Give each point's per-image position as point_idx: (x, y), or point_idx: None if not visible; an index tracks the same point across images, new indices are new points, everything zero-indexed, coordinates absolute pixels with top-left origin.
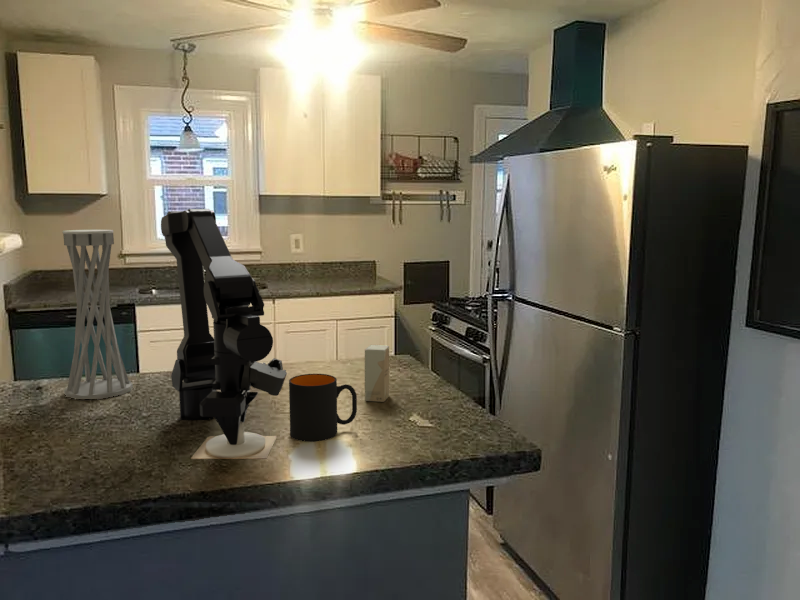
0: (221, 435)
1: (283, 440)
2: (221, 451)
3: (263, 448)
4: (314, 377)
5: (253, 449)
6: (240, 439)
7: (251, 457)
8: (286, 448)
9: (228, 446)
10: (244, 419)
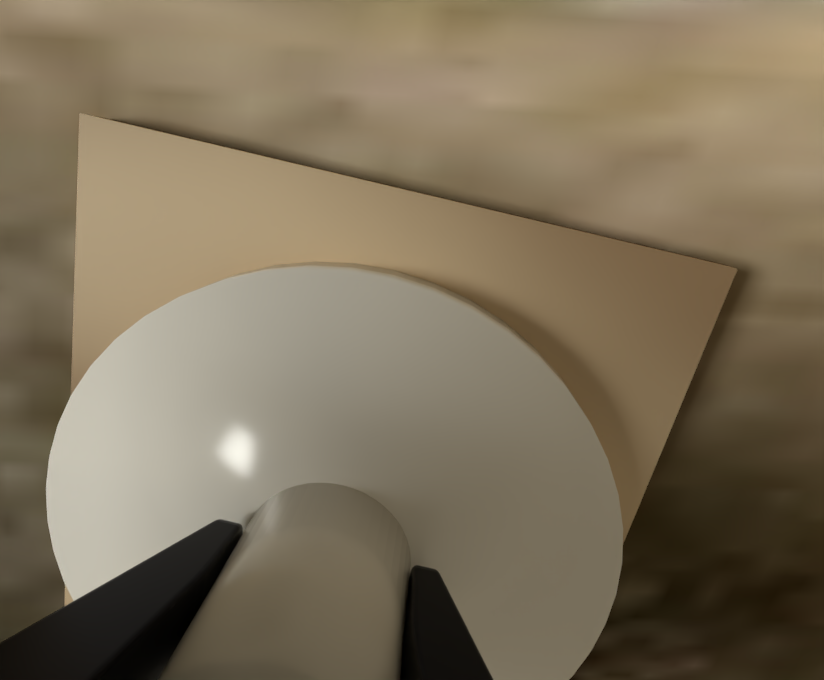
0: None
1: (141, 45)
2: (545, 672)
3: (443, 286)
4: None
5: (576, 406)
6: (389, 553)
7: (655, 410)
8: (394, 22)
9: None
10: (76, 642)
